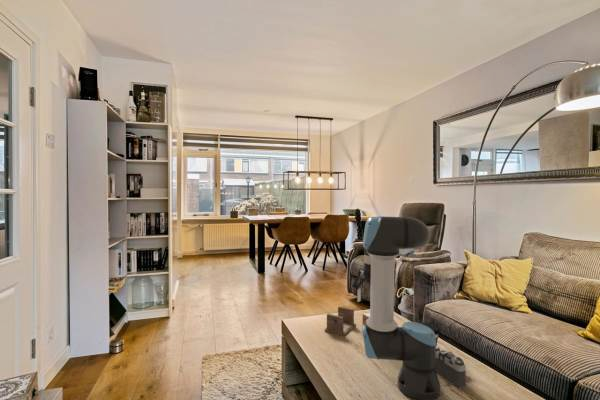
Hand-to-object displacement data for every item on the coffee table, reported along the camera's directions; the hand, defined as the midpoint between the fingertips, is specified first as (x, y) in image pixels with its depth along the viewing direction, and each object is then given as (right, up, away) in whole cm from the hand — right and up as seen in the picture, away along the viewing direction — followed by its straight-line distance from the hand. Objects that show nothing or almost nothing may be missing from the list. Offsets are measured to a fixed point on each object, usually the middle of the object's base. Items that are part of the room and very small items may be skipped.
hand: (371, 303), depth 165 cm
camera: (+24, -17, -36) cm, 47 cm away
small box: (0, -17, 0) cm, 17 cm away
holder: (-15, -16, +8) cm, 24 cm away
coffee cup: (+22, -17, -18) cm, 33 cm away
